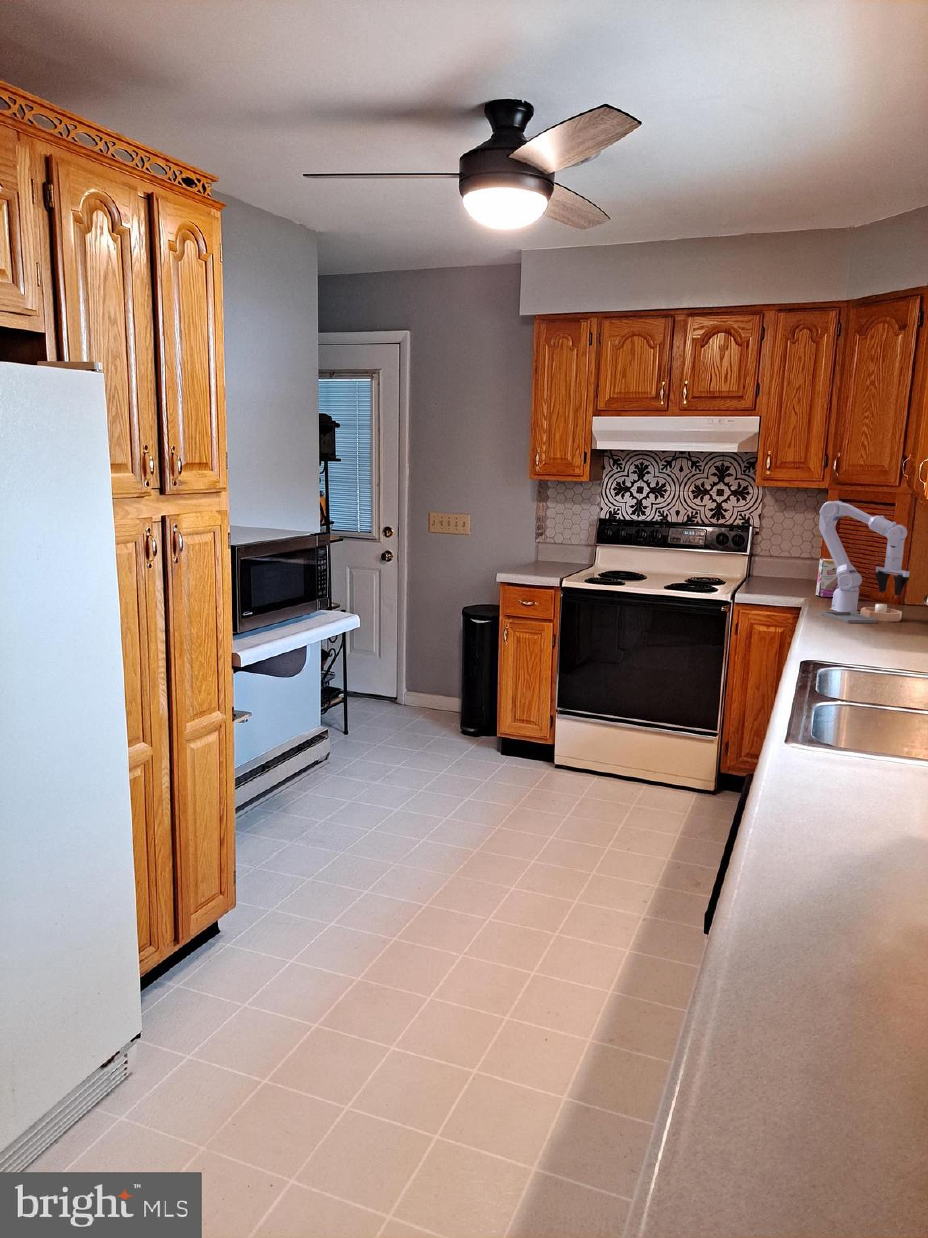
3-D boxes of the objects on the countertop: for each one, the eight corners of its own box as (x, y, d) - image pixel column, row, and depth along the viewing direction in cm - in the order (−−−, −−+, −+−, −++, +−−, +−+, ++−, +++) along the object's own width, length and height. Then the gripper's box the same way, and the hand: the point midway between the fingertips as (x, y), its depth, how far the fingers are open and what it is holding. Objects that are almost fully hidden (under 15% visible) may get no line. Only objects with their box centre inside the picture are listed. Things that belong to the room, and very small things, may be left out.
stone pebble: (871, 616, 334) (873, 603, 333) (881, 616, 335) (882, 603, 334) (878, 618, 330) (879, 605, 329) (888, 618, 331) (889, 605, 330)
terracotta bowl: (853, 616, 338) (854, 607, 337) (884, 615, 340) (885, 606, 340) (875, 623, 325) (876, 613, 324) (908, 622, 328) (909, 613, 327)
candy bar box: (818, 597, 381) (822, 559, 378) (815, 595, 386) (819, 558, 383) (845, 598, 380) (849, 560, 377) (841, 597, 385) (845, 559, 382)
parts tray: (821, 616, 336) (821, 611, 335) (849, 616, 338) (850, 611, 338) (847, 624, 320) (847, 619, 320) (876, 624, 322) (877, 619, 322)
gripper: (871, 555, 338) (867, 590, 340) (900, 560, 324) (895, 596, 327) (885, 555, 340) (881, 590, 342) (915, 559, 326) (911, 596, 329)
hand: (889, 593), depth 335 cm, fingers open, 7 cm apart
